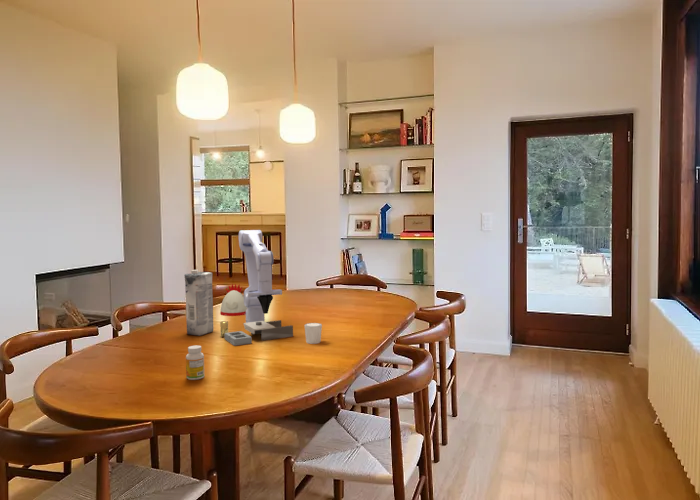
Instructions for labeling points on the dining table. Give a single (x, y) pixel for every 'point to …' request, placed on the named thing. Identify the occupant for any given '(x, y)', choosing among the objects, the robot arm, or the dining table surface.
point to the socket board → (238, 338)
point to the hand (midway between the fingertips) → (265, 313)
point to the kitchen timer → (233, 302)
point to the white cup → (313, 333)
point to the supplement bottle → (194, 363)
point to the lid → (257, 326)
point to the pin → (224, 328)
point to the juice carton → (199, 302)
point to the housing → (275, 331)
